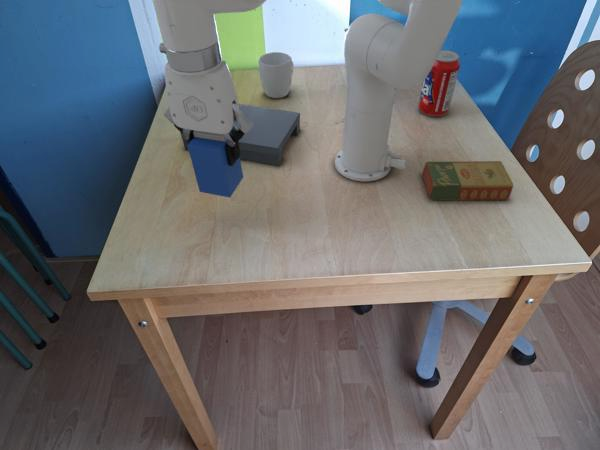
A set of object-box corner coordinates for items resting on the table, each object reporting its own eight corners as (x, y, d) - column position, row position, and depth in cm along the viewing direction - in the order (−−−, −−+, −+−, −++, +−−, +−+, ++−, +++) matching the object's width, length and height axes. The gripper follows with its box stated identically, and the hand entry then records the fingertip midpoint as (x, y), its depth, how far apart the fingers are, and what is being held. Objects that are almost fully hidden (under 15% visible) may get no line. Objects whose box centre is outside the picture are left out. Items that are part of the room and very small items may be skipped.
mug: (281, 103, 117) (279, 68, 110) (255, 96, 120) (251, 61, 113) (305, 85, 125) (304, 51, 118) (279, 78, 128) (278, 45, 121)
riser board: (300, 130, 107) (299, 112, 103) (278, 166, 96) (277, 148, 92) (213, 117, 112) (210, 99, 109) (184, 149, 101) (180, 131, 98)
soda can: (447, 120, 109) (462, 63, 99) (416, 116, 111) (427, 60, 100) (448, 106, 115) (462, 50, 104) (418, 102, 116) (429, 47, 106)
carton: (508, 201, 86) (515, 185, 83) (428, 201, 87) (433, 184, 84) (495, 176, 92) (502, 159, 89) (421, 175, 93) (425, 159, 90)
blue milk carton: (243, 177, 78) (234, 125, 71) (230, 197, 74) (219, 145, 67) (214, 172, 80) (202, 120, 72) (199, 192, 76) (185, 139, 68)
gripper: (127, 59, 60) (161, 163, 73) (239, 72, 56) (254, 179, 68) (155, 39, 65) (182, 139, 78) (260, 49, 61) (270, 153, 73)
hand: (216, 157), depth 73 cm, fingers closed on blue milk carton, 6 cm apart
